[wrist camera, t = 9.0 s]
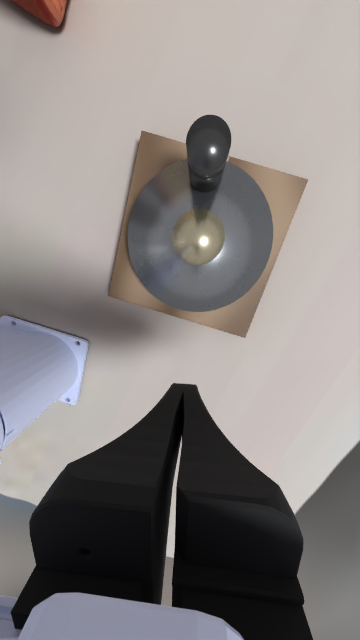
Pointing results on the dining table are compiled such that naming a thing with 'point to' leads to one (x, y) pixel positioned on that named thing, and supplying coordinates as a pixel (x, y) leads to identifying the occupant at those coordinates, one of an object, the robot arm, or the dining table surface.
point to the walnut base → (283, 204)
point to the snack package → (44, 10)
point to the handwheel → (201, 226)
